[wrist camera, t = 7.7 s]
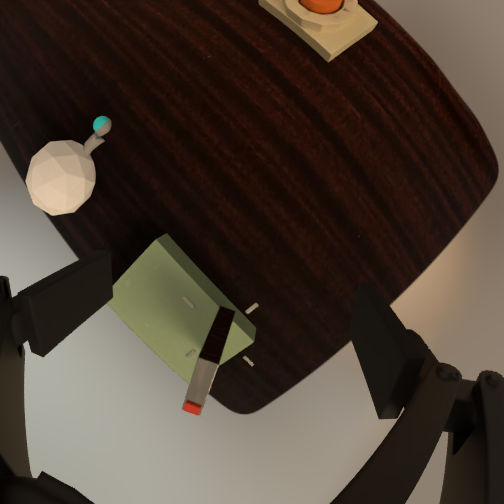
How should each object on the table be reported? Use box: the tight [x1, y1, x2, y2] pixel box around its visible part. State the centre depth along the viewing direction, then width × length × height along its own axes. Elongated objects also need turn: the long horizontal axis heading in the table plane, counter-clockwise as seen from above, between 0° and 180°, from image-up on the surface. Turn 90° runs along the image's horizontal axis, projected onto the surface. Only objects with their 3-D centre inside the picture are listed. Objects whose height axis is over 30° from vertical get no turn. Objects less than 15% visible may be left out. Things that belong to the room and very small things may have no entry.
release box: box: [258, 0, 378, 62], centre depth 22 cm, size 10×7×4 cm
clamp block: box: [107, 233, 258, 384], centre depth 31 cm, size 16×13×3 cm
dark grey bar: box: [182, 306, 236, 415], centre depth 25 cm, size 6×2×9 cm, turn 161°
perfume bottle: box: [26, 116, 111, 216], centre depth 26 cm, size 8×8×12 cm
